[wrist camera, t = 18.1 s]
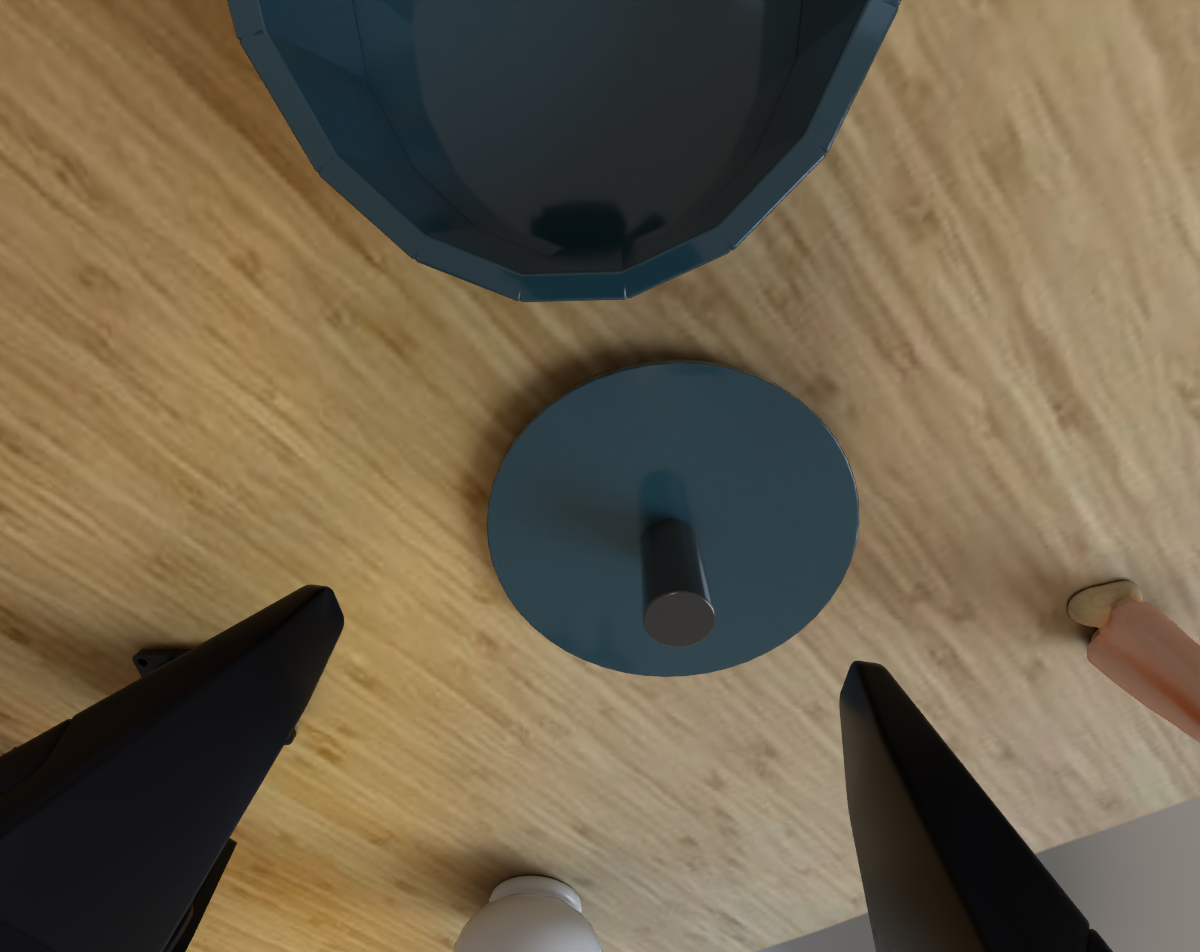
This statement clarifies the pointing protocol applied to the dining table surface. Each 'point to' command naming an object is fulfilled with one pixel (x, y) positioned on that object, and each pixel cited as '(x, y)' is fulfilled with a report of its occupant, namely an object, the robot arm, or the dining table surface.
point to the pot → (564, 124)
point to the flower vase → (529, 920)
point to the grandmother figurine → (1142, 651)
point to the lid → (672, 518)
